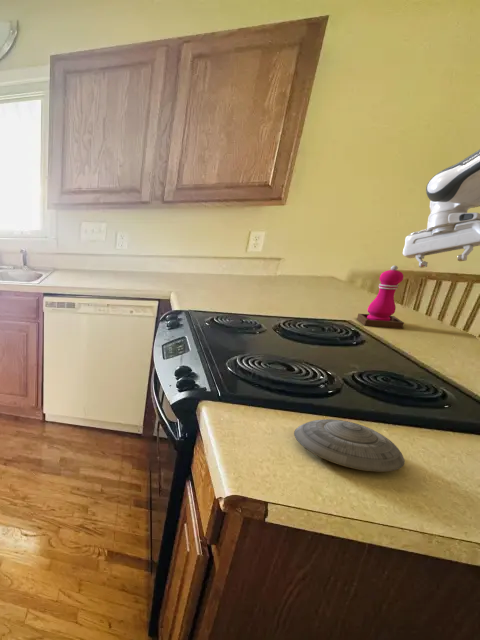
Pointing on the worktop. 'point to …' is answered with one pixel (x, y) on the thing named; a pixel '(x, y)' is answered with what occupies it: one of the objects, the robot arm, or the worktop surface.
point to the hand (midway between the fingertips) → (441, 263)
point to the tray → (380, 322)
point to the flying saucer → (349, 445)
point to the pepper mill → (385, 295)
